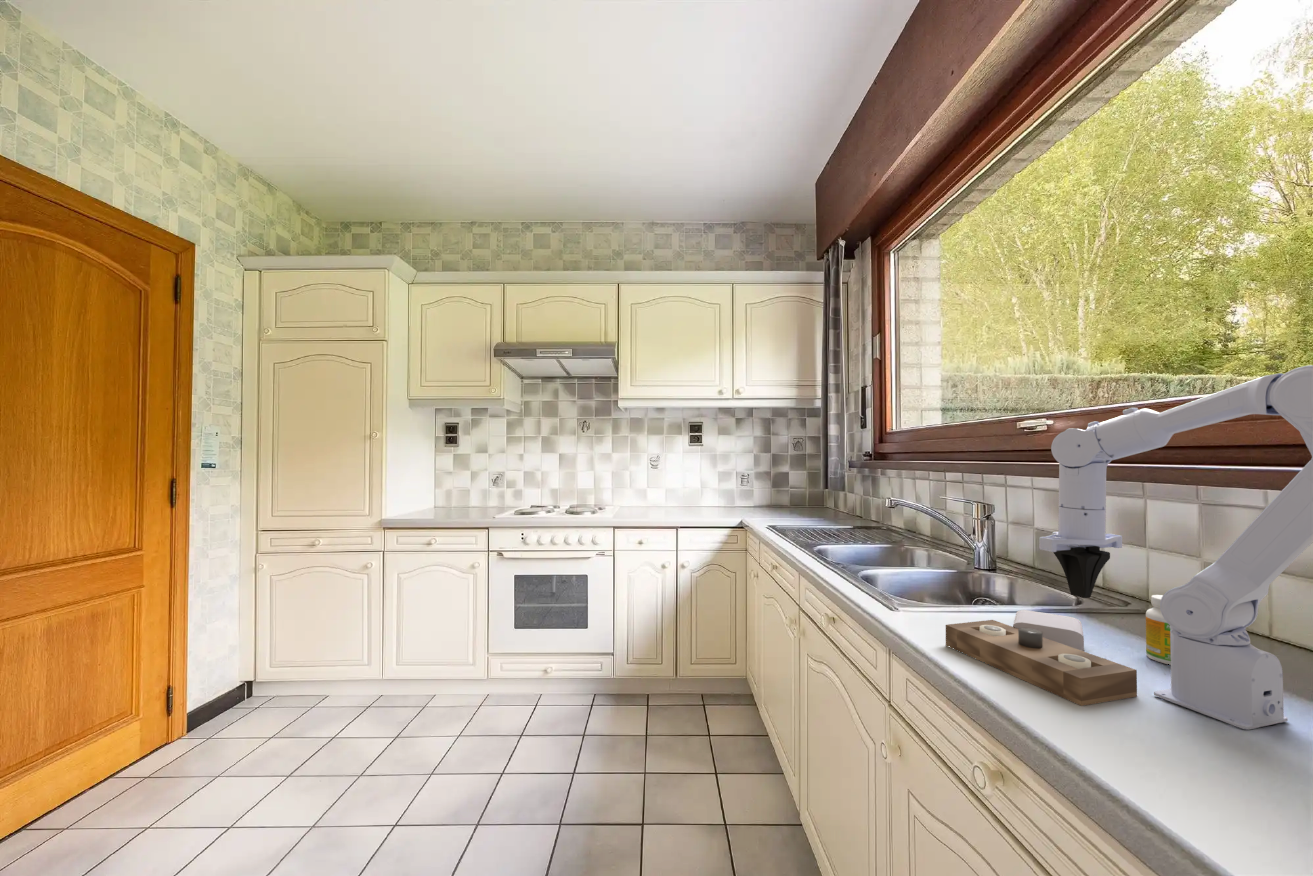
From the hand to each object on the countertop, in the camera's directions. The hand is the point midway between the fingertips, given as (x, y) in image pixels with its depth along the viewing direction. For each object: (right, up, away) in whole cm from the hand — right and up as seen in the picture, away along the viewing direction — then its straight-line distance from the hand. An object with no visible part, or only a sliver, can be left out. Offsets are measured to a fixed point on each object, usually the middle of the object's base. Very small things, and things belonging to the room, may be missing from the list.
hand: (1080, 596), depth 83 cm
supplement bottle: (+15, -11, +1) cm, 19 cm away
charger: (+2, -11, +10) cm, 15 cm away
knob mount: (-9, -10, -2) cm, 14 cm away
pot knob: (-9, -7, -2) cm, 11 cm away
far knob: (-11, -10, +4) cm, 15 cm away
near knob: (-7, -10, -8) cm, 14 cm away
